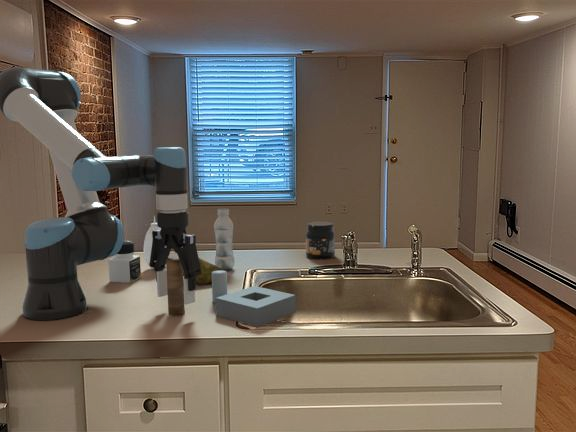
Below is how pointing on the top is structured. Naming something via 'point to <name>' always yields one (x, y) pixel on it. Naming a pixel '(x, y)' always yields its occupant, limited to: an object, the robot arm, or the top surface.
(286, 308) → the hole block
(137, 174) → the robot arm
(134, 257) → the medicine bottle
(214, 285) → the short pin
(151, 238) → the sauce bottle
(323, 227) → the supplement container
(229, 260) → the plastic bottle
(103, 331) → the top surface
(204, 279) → the potato
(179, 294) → the long pin
